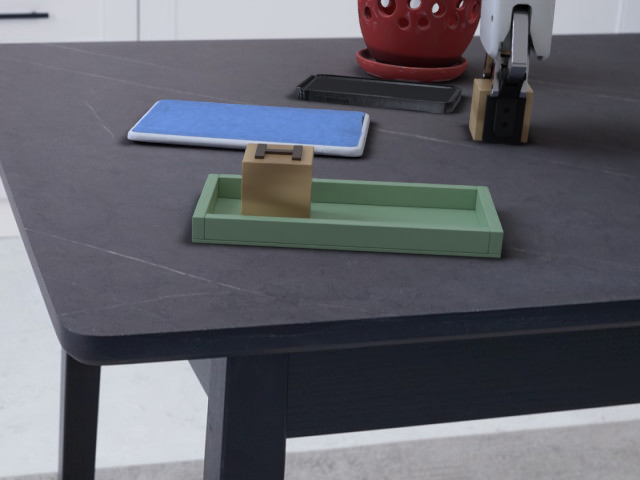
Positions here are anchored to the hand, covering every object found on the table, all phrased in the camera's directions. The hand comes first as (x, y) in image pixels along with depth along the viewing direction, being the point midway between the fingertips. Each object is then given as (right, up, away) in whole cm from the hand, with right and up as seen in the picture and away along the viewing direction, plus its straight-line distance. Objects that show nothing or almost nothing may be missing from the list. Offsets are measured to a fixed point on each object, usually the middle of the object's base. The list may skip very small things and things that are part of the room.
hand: (497, 133), depth 100 cm
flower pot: (-4, +11, +22) cm, 25 cm away
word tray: (-15, -12, -22) cm, 29 cm away
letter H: (-20, -11, -22) cm, 31 cm away
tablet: (-21, -1, -1) cm, 21 cm away
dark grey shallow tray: (-9, +6, +11) cm, 16 cm away
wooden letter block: (0, 0, 0) cm, 0 cm away
